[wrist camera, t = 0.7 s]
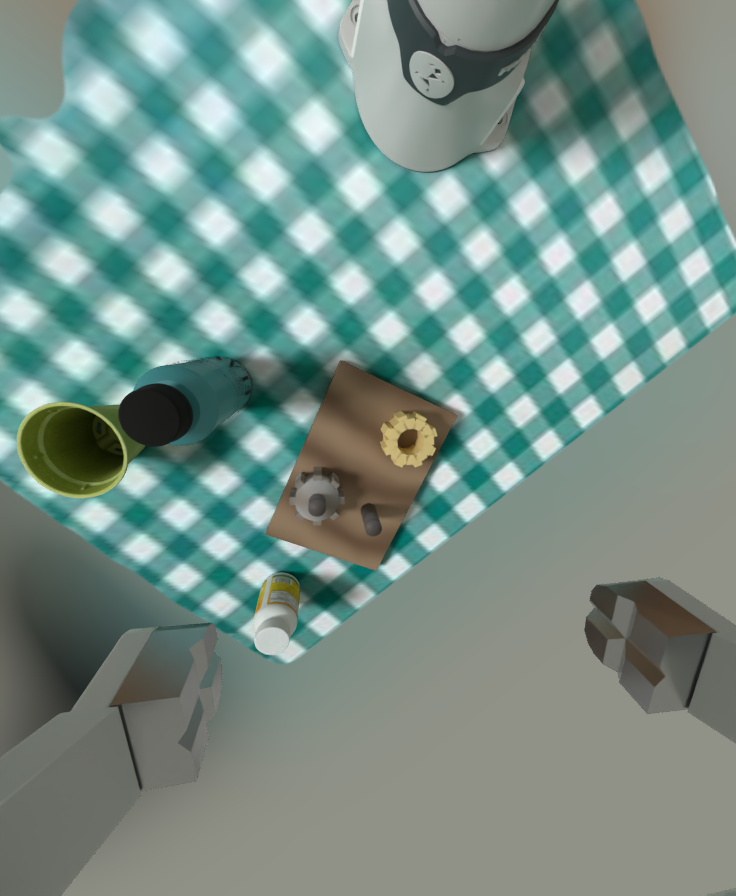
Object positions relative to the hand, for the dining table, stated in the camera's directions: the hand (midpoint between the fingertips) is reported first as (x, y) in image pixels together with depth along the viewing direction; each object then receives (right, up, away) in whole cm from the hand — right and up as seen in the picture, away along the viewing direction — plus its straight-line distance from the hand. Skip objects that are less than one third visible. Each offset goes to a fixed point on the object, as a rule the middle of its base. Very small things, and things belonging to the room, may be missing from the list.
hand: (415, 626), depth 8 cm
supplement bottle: (-13, -16, +43) cm, 48 cm away
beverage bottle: (-18, +11, +35) cm, 40 cm away
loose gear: (+4, +5, +37) cm, 38 cm away
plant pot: (-30, +6, +35) cm, 46 cm away
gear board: (-2, +1, +40) cm, 40 cm away
